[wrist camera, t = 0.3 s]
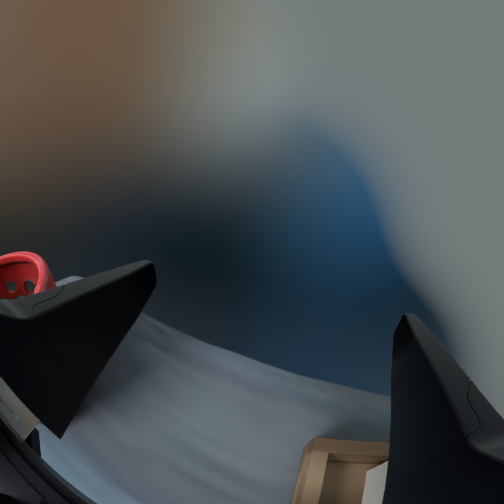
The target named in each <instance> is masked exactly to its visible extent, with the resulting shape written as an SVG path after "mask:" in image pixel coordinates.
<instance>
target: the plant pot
mask: <svg viewBox="0 0 504 504" xmlns="http://www.w3.org/2000/svg"><path fill="white" fill-rule="evenodd" d="M27 280H30V281H32V282H33V283H34V284H35V285H36V289H35V291H34V293H33V294H35V293H38V292H42V291H46V290H49V289H52V288H55V287H56V285H55V282H54V280H53V278H52V275H51V273H50V271H49V268H48V266H47V264H46V262H45V261H44V260H43V258H41V257H40V256H39V255H37V254H35V253H32V252H15V253H10V254H6V255H3V256H0V299H2V298H4V297H7V298H8V299H9V300H12V299H16V298H18V296H19V295H23V296H27V295H31V294H32V293H31V292H30V291H29V290H28V288H27V284H26V282H27ZM9 281H13V282H14V283H15V284H16V289H15V290H14V291H11V290H9V289H8V288H7V286H6V284H7V282H9ZM39 423H42V422H41V421H40V422H39Z"/></svg>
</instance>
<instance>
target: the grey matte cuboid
mask: <svg viewBox="0 0 504 504" xmlns="http://www.w3.org/2000/svg"><path fill="white" fill-rule="evenodd" d="M387 466H388V461H387V462H385V463H383V464H381V465H379V466H377V467H375V468H372V469H370V470H368V471H367V472H366V480H365V487H364V493H363V499H362V504H382V501H383V495H384V490H385V483H386V475H387Z"/></svg>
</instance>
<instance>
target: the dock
mask: <svg viewBox="0 0 504 504" xmlns="http://www.w3.org/2000/svg"><path fill="white" fill-rule="evenodd" d="M389 444H390V442H368V441H351V440H340V439H330V438H322V437H314V438H313V439H312V440H311V441H310V442H309V443H308V444H307V445H306V446H305V447H304V451H303V456H302V460H301V464H300V469H299V473H298V477H297V481H296V485H295V489H294V492H293V496H292V500H291V503H290V504H362V499H363V493H364V487H365V480H366V472H367V471H368V470H370V469H372V468H375V467H377V466H379V465H381V464H383V463H385V462H387V461H388V456H389Z"/></svg>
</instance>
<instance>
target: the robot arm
mask: <svg viewBox="0 0 504 504" xmlns="http://www.w3.org/2000/svg"><path fill="white" fill-rule="evenodd" d="M156 285H157V277H156V271H155V265H154V263H152V262H150V261H146V260H143V261H139V262H135V263H132V264H129V265H126V266H122V267H119V268H116V269H113V270H109V271H106V272H103V273H99V274H97V275H93V276H90V277H87V278H84V279H80V280H77V281H74V282H71V283H68V284H66V285H62V286H58V287H55V288H52V289H49V290H46V291H42V292H38V293H35V294H31V295H27V296H23V297H20V298H16V299H12V300H1V299H0V504H97V503H95V502H94V501H92V500H91V499H89V498H88V497H87V496H85V495H84V494H83V493H81V492H80V491H79V490H77V489H76V488H75V487H74V486H72V485H71V484H70V483H69V482H68V481H66V480H65V479H64V478H63V477H62V476H60V475H59V474H58V473H57V472H56V471H55V470H54V469H53V468H51V467H50V466H49V465H48V464H47V463H46V462H45V461H44V460H43V459H42V458H41V451H40V441H39V431H38V430H37V429H36V428H35V427H36V425H37V424H38V423H39V422H40V421H41V422H42V423H43V424H44V425H45V426H46V427H47V428H48V429H49V430H50V431H51V432H52V433H54V434H55V435H56V436H57V437H58V438H59V439H61V438H62V436H63V435H64V433H65V431H66V429H67V428H68V426H69V424H70V422H71V421H72V419H73V417H74V416H75V414H76V412H77V411H78V409H79V407H80V406H81V404H82V402H83V401H84V398H85V397H86V395H87V394H88V392H89V391H90V389H91V387H92V386H93V384H94V383H95V381H96V379H97V378H98V376H99V375H100V373H101V372H102V370H103V369H104V367H105V365H106V364H107V362H108V361H109V359H110V358H111V356H112V355H113V353H114V352H115V350H116V349H117V347H118V346H119V344H120V343H121V341H122V340H123V339H124V337H125V336H126V334H127V333H128V331H129V330H130V328H131V327H132V325H133V324H134V323H135V321H136V320H137V318H138V317H139V315H140V313H141V312H142V310H143V308H144V306H145V305H146V303H147V301H148V299H149V298H150V296H151V294H152V292H153V290H154V289H155V287H156ZM382 504H504V419H503V418H502V417H501V416H500V414H499V413H498V412H497V411H496V410H495V409H494V407H493V406H492V405H491V404H490V403H489V402H488V401H487V399H486V398H485V397H484V396H483V395H482V393H481V392H480V391H479V389H478V388H477V387H476V386H475V384H474V383H473V382H472V381H470V378H469V377H468V376H467V374H466V373H465V372H464V371H463V369H462V368H461V367H460V366H459V364H458V363H457V362H456V361H455V360H454V358H453V357H452V356H451V355H450V354H449V353H448V351H447V350H446V349H445V348H444V347H443V346H442V344H440V342H439V341H438V340H437V339H436V338H435V337H434V336H433V334H432V333H431V332H430V331H429V330H428V329H427V328H426V327H425V325H424V324H423V323H422V322H421V321H420V320H419V319H418V318H417V317H416V316H415V315H412V314H406V313H405V314H403V315H402V317H401V319H400V321H399V323H398V325H397V328H396V330H395V332H394V336H393V351H392V367H391V426H390V444H389V456H388V466H387V475H386V483H385V490H384V495H383V501H382Z"/></svg>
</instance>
